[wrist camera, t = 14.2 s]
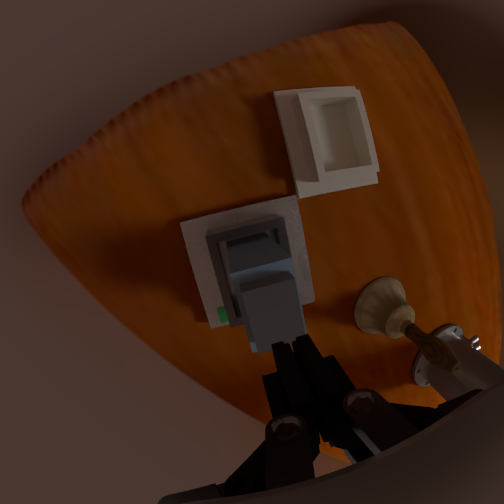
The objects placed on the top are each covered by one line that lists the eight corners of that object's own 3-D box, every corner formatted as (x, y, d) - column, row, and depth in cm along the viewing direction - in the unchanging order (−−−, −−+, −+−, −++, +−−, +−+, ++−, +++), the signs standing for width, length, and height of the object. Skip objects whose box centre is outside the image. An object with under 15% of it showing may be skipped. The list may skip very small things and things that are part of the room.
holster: (351, 88, 27) (366, 78, 23) (374, 183, 30) (392, 183, 26) (272, 94, 26) (279, 81, 22) (297, 198, 29) (308, 199, 25)
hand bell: (360, 343, 34) (424, 416, 19) (347, 294, 32) (426, 362, 17) (407, 315, 34) (480, 370, 19) (398, 265, 32) (488, 310, 17)
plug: (264, 232, 28) (298, 263, 16) (276, 286, 29) (313, 347, 17) (225, 241, 28) (230, 281, 15) (240, 296, 29) (255, 364, 17)
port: (292, 194, 29) (306, 195, 24) (311, 296, 32) (326, 314, 27) (181, 221, 28) (173, 227, 23) (211, 322, 31) (210, 344, 26)
